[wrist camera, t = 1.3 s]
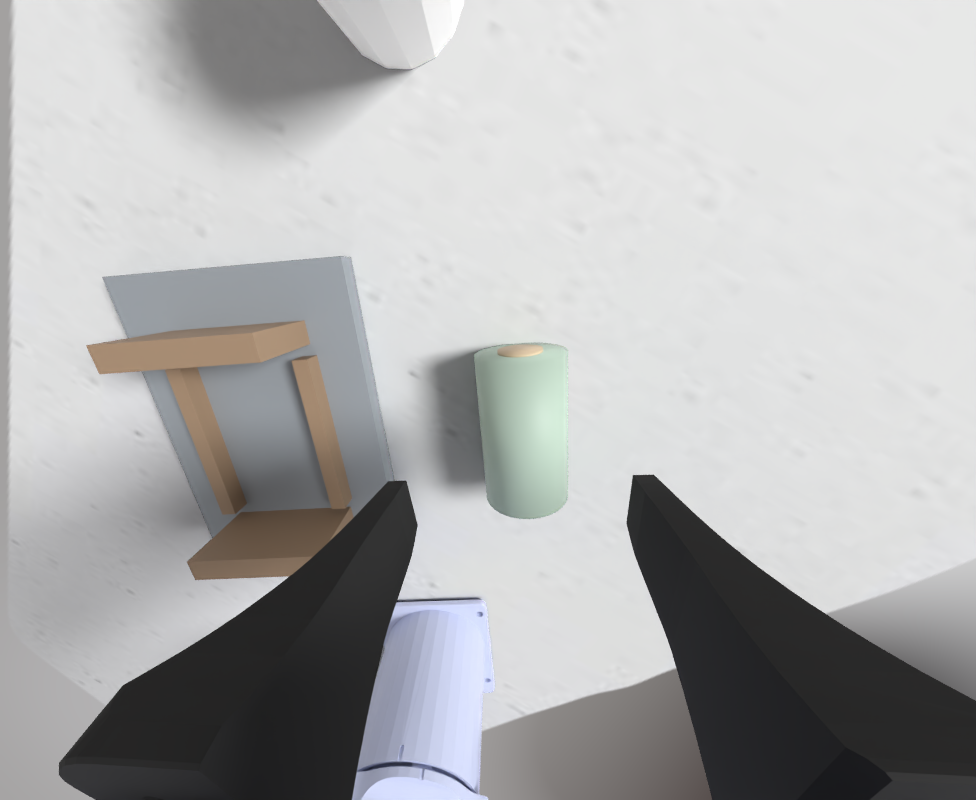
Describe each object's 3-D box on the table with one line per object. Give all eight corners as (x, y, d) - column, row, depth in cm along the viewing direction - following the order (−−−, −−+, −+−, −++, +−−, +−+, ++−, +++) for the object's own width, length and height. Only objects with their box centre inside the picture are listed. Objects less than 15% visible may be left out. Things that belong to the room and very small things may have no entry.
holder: (406, 543, 24) (382, 613, 19) (236, 550, 24) (170, 620, 19) (350, 257, 18) (294, 251, 13) (126, 276, 18) (-9, 277, 13)
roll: (556, 470, 22) (578, 516, 18) (485, 477, 22) (489, 525, 18) (555, 337, 19) (579, 354, 15) (473, 344, 19) (474, 364, 15)
